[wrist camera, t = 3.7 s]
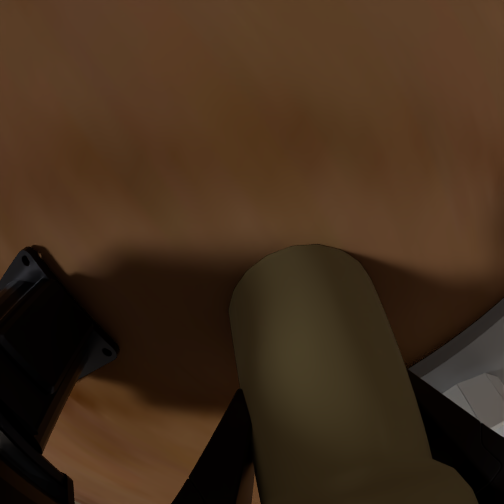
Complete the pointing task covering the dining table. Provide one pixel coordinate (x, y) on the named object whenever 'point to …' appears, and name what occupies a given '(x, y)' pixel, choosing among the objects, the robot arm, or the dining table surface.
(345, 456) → the cork
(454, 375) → the cup stand
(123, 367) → the dining table surface
